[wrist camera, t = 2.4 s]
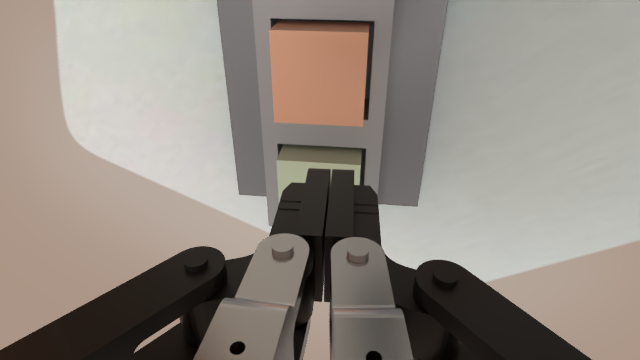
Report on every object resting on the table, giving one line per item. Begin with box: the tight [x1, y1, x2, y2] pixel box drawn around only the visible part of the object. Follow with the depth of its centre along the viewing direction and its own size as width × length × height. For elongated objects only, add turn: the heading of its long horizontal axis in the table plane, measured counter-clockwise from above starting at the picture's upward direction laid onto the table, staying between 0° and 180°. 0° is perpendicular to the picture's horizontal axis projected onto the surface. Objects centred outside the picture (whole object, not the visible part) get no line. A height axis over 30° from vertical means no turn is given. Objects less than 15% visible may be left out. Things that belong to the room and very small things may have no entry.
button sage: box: [276, 144, 362, 202], centre depth 29 cm, size 5×5×3 cm
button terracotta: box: [269, 20, 369, 127], centre depth 25 cm, size 5×5×3 cm
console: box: [217, 0, 448, 226], centre depth 28 cm, size 15×24×6 cm, turn 0°
